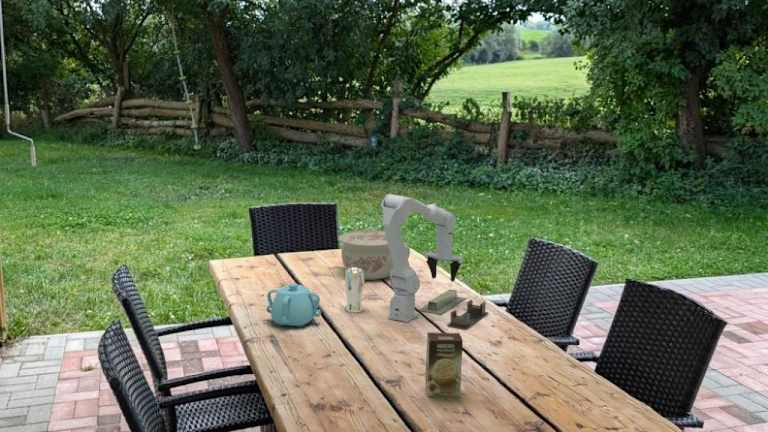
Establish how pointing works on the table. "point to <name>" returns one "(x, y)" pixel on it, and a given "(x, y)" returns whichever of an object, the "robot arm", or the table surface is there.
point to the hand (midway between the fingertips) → (443, 279)
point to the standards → (468, 316)
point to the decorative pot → (293, 305)
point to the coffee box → (443, 364)
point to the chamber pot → (368, 253)
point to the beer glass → (354, 289)
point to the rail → (442, 300)
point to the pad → (444, 308)
